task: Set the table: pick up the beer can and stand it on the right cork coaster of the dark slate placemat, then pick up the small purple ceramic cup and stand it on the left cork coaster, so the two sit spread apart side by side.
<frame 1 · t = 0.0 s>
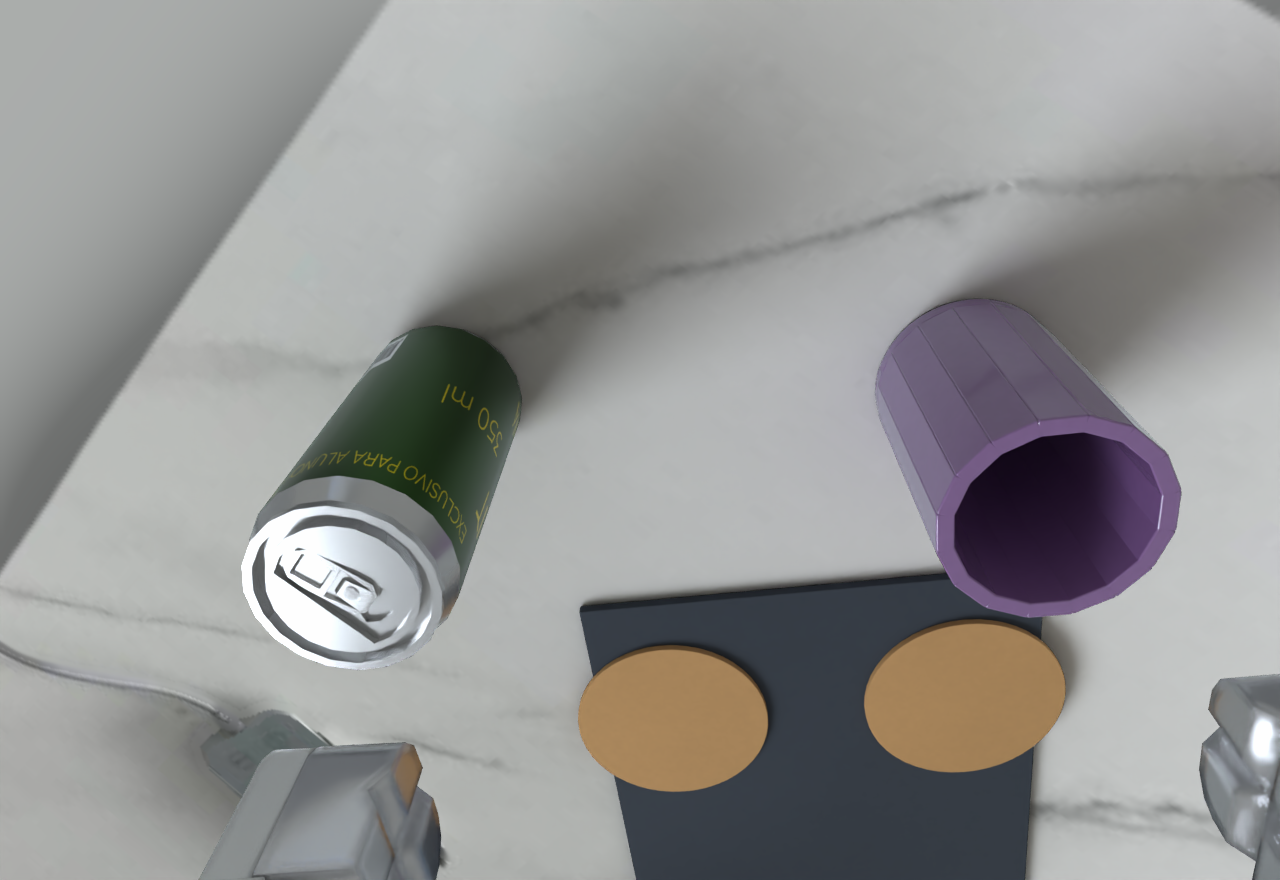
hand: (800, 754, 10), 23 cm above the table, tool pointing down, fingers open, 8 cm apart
placemat: (819, 769, 41), on the table
beer can: (451, 387, 34), on the table
purple cup: (965, 383, 33), on the table
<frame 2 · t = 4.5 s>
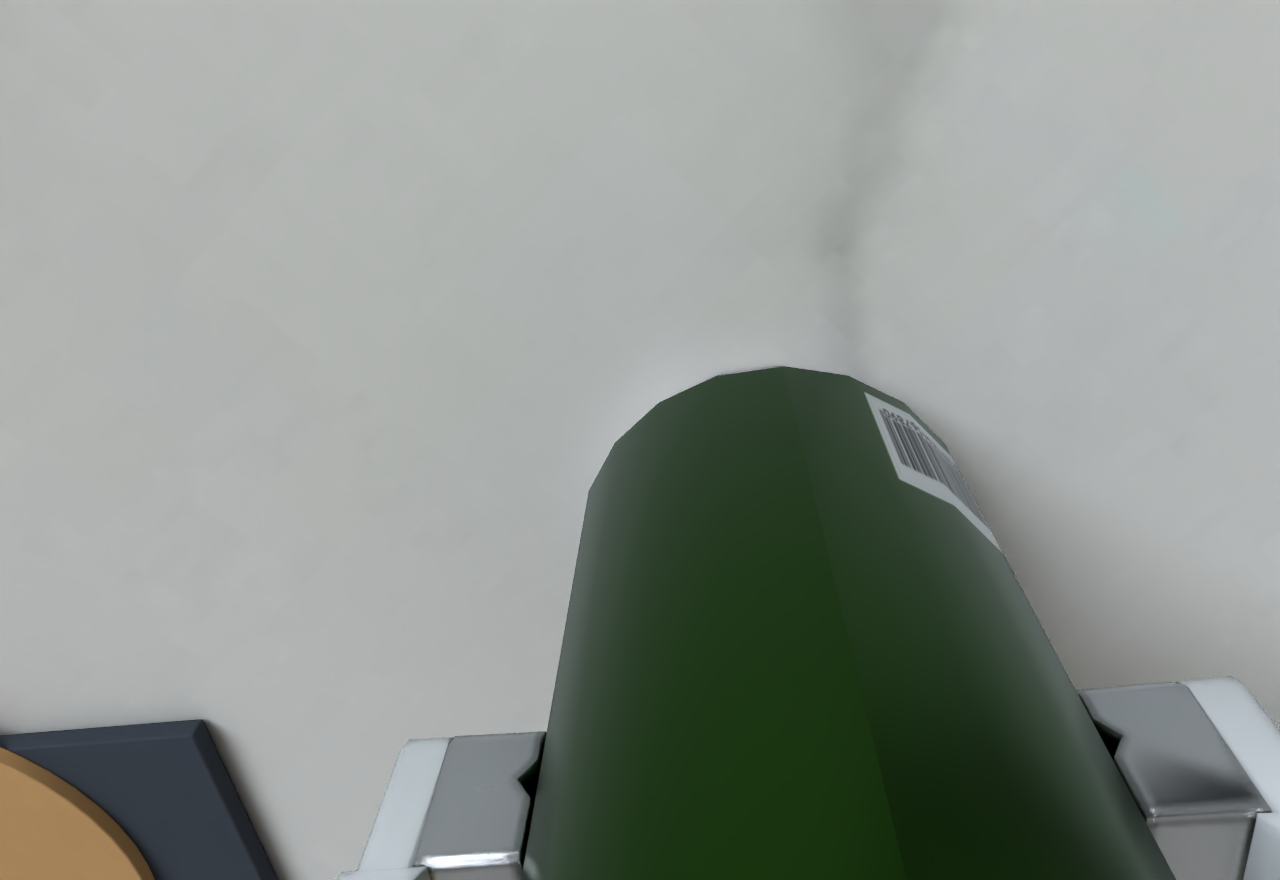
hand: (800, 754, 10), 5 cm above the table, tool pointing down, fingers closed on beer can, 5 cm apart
beer can: (767, 507, 14), on the table, touching gripper
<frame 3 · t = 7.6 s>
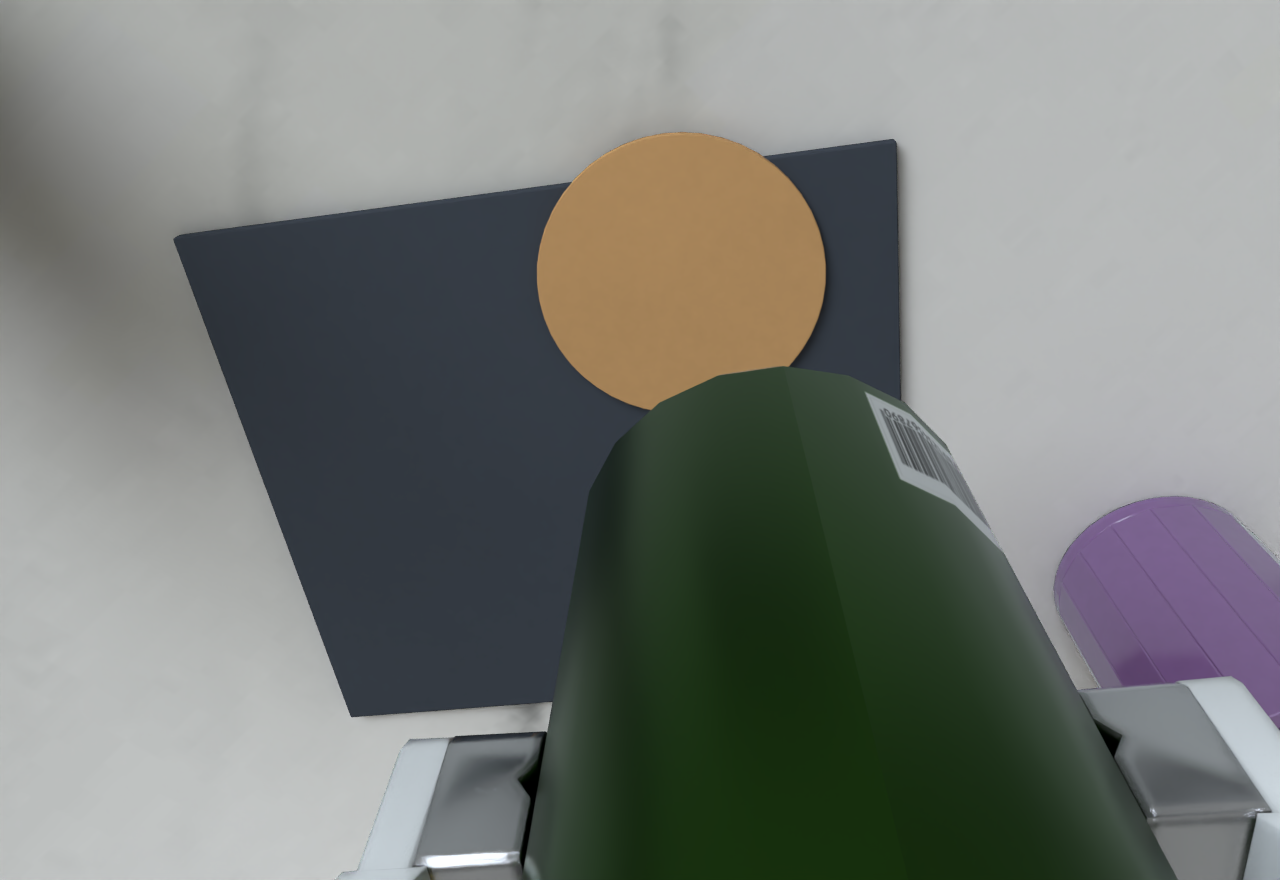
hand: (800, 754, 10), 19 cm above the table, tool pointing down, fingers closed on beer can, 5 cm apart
placemat: (577, 473, 30), on the table
beer can: (767, 507, 14), point 14 cm above the table, touching gripper
purple cup: (1151, 577, 31), on the table
when the fingers open (5 cm above the table, at t = 11.0 s): beer can stays where it is, resting on placemat.
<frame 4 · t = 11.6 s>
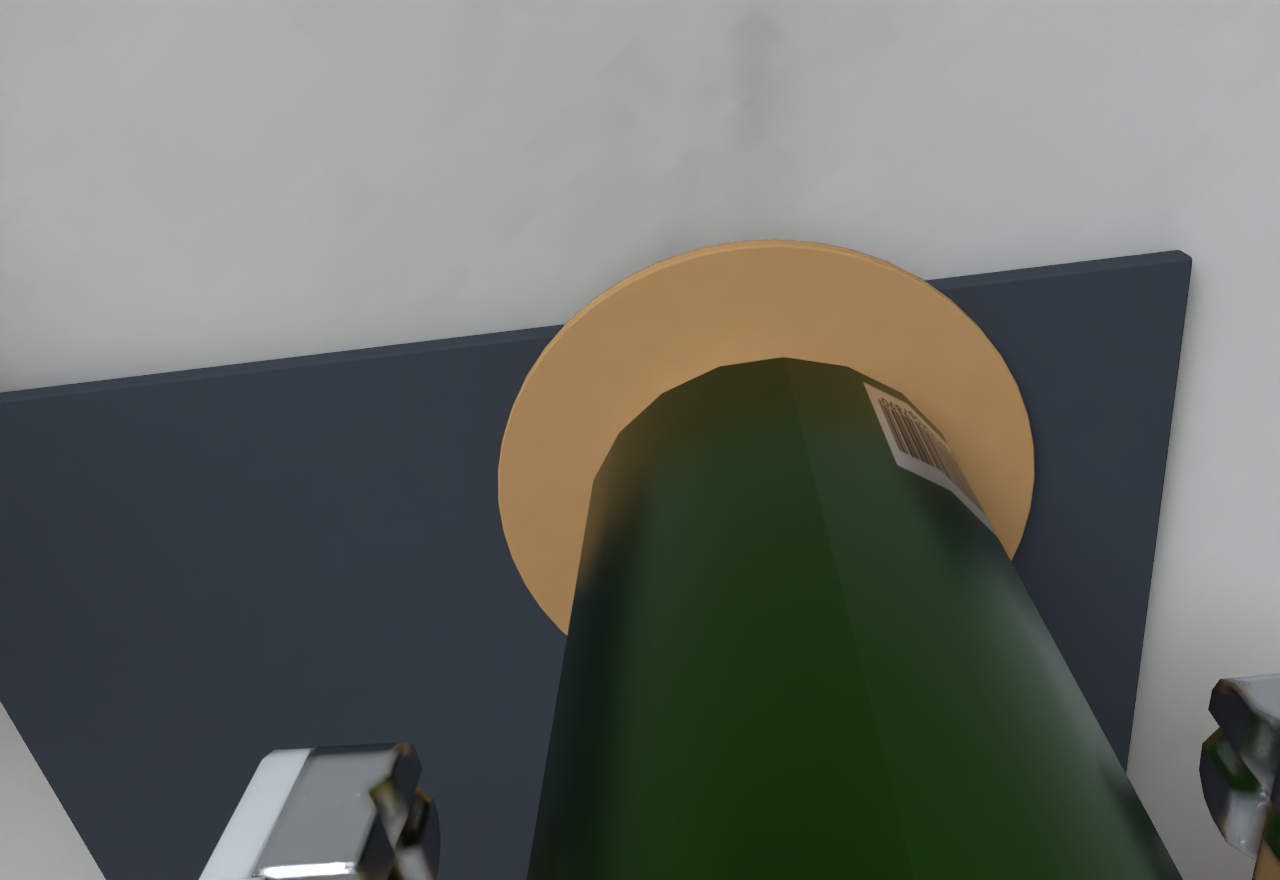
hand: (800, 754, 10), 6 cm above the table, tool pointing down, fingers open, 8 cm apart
placemat: (574, 775, 18), on the table
beer can: (768, 497, 14), point 1 cm above the table, touching placemat
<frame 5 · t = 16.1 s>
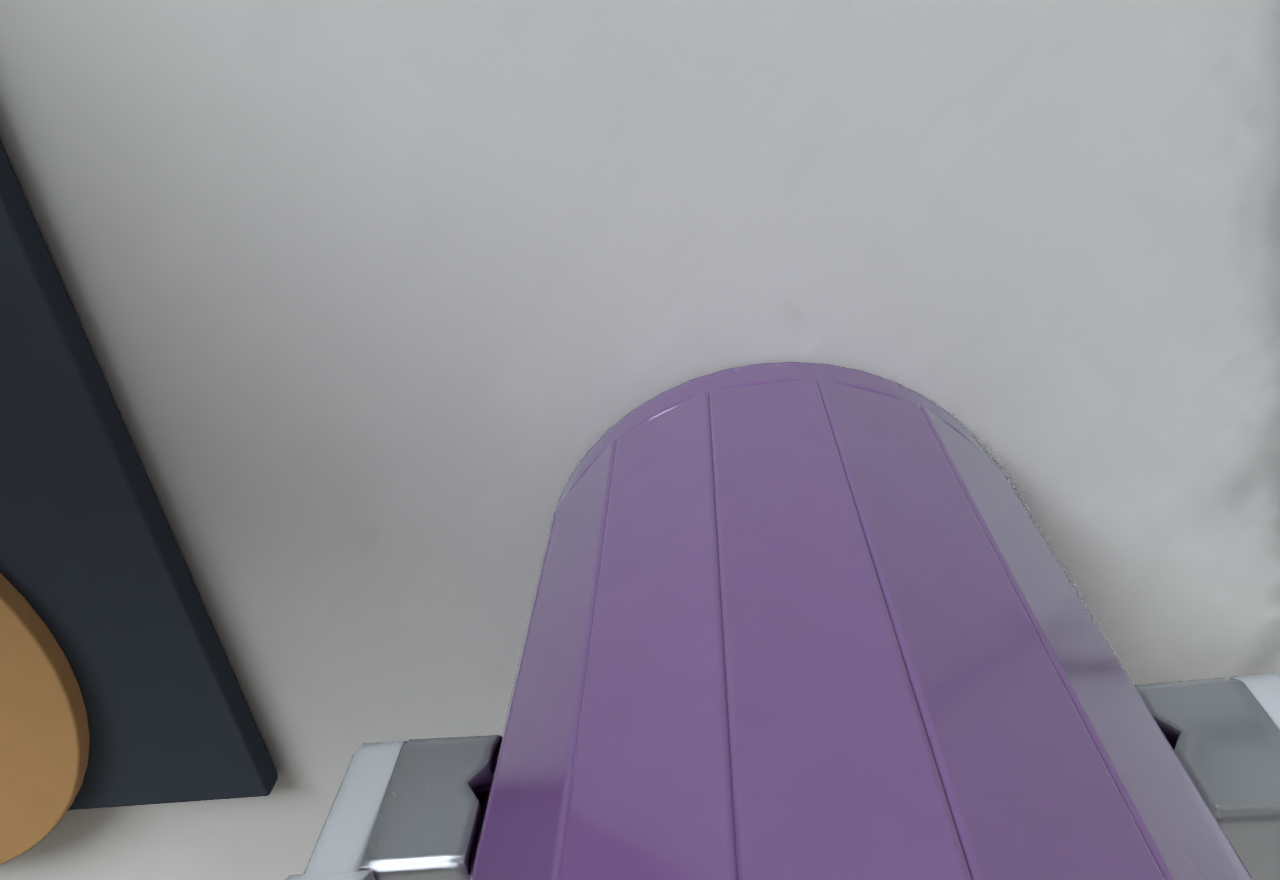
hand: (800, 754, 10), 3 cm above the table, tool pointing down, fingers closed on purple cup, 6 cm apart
purple cup: (777, 574, 13), on the table, touching gripper
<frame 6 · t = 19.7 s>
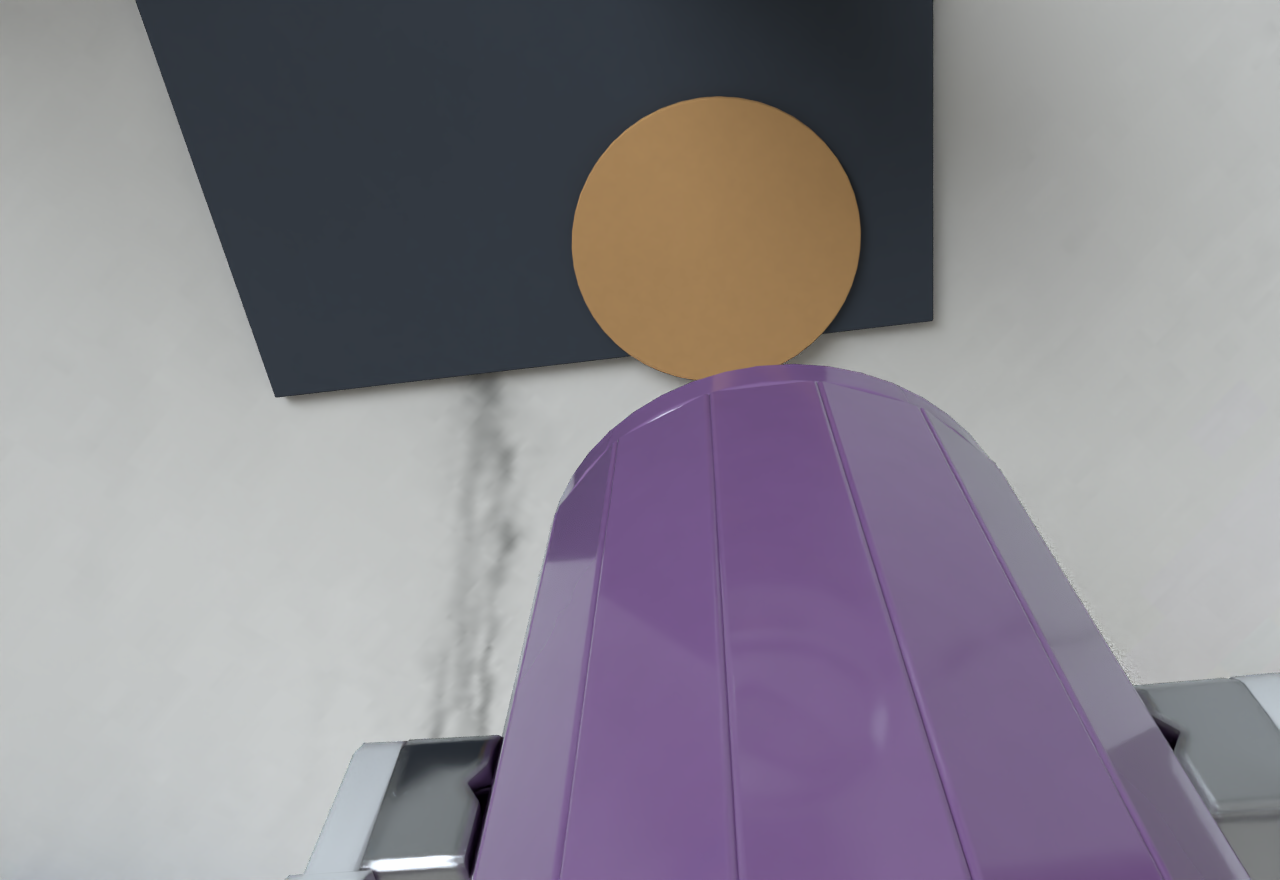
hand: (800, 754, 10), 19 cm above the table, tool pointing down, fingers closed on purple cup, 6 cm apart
placemat: (536, 37, 24), on the table
purple cup: (777, 576, 13), point 16 cm above the table, touching gripper
when the fingers open (4 cm above the table, at t = 23.5 s): purple cup stays where it is, resting on placemat.
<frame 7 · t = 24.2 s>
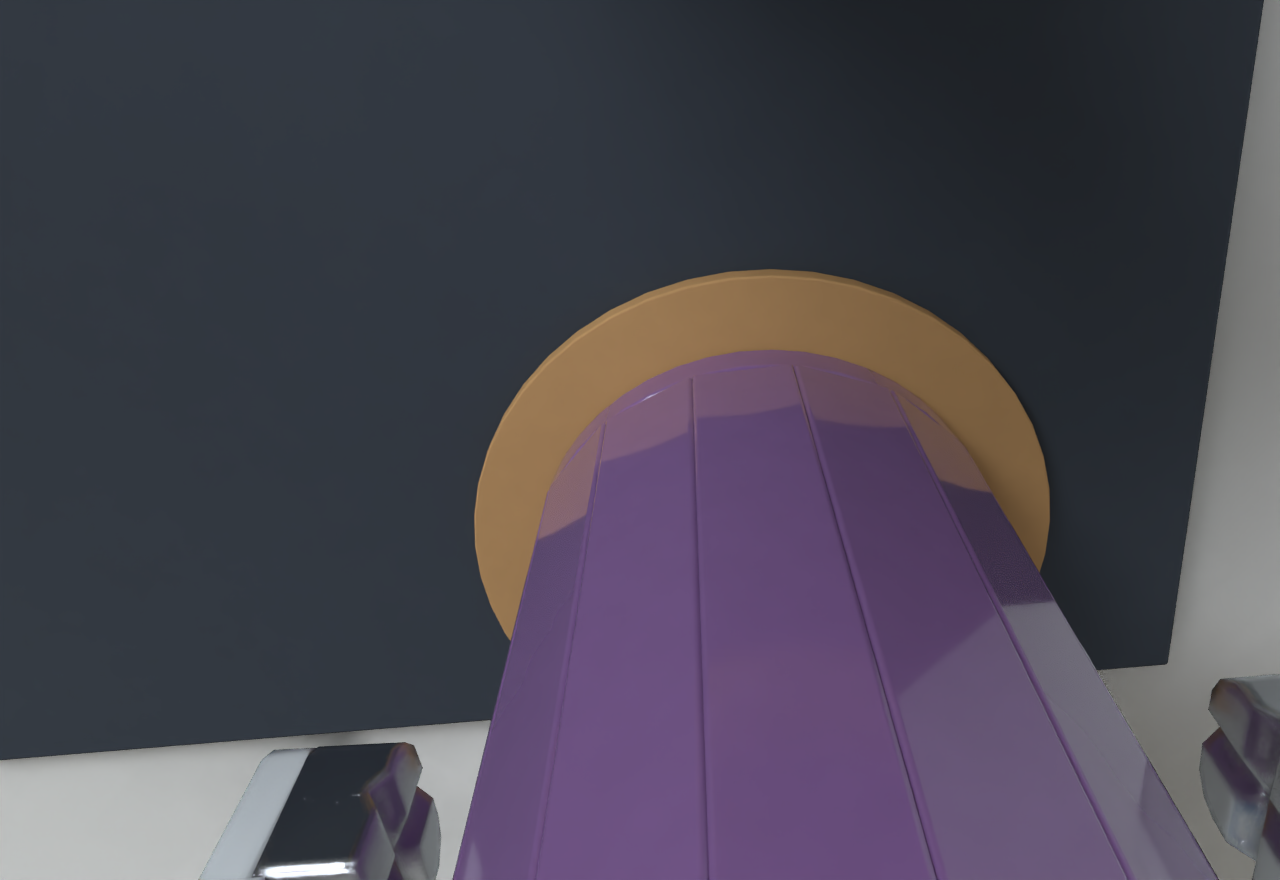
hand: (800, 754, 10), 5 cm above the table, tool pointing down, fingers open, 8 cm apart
placemat: (384, 144, 12), on the table
purple cup: (759, 553, 13), point 1 cm above the table, touching placemat
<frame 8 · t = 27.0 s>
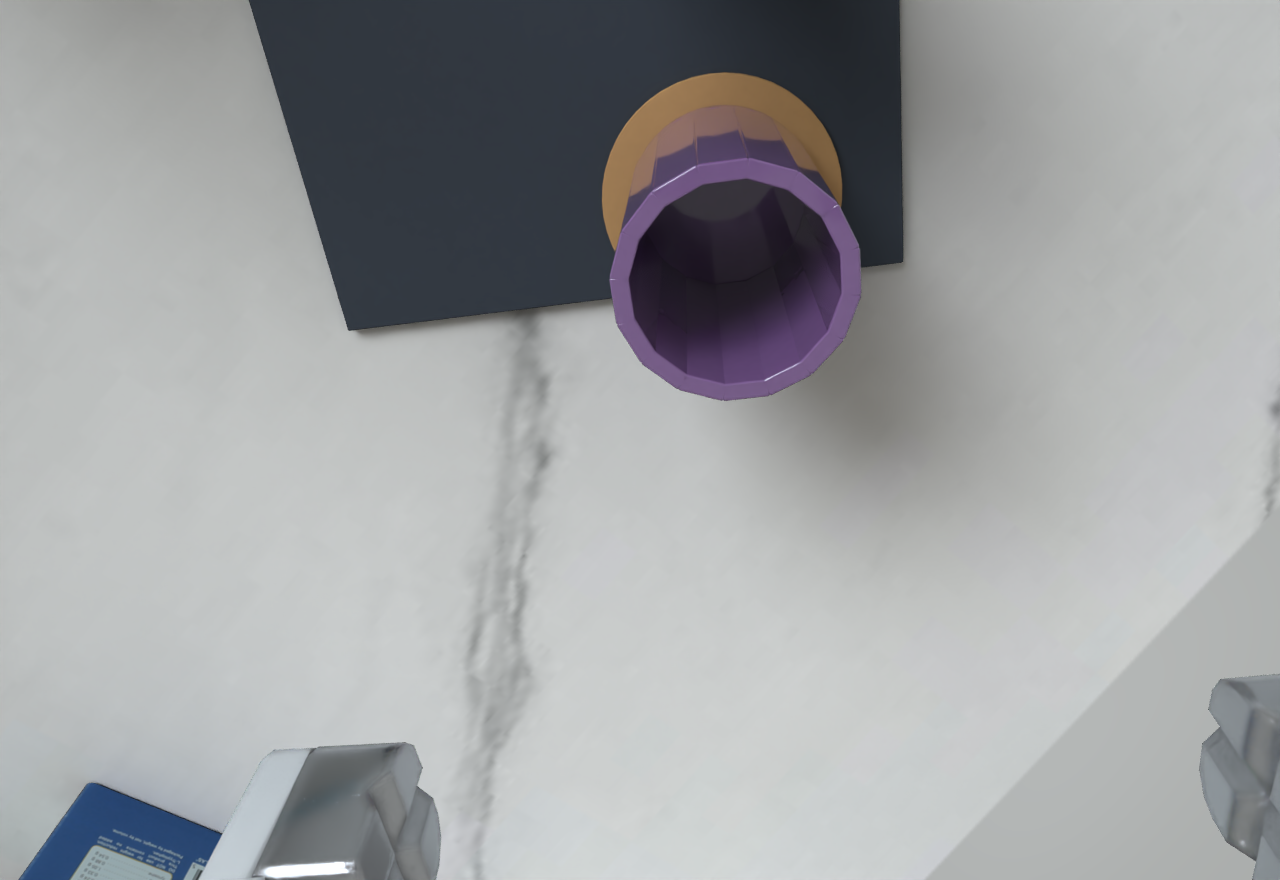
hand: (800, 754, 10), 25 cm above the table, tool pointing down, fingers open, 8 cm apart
placemat: (574, 23, 30), on the table
purple cup: (722, 202, 31), point 1 cm above the table, touching placemat
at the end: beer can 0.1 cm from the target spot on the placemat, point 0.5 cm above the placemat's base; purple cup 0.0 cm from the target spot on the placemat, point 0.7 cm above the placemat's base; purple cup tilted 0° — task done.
